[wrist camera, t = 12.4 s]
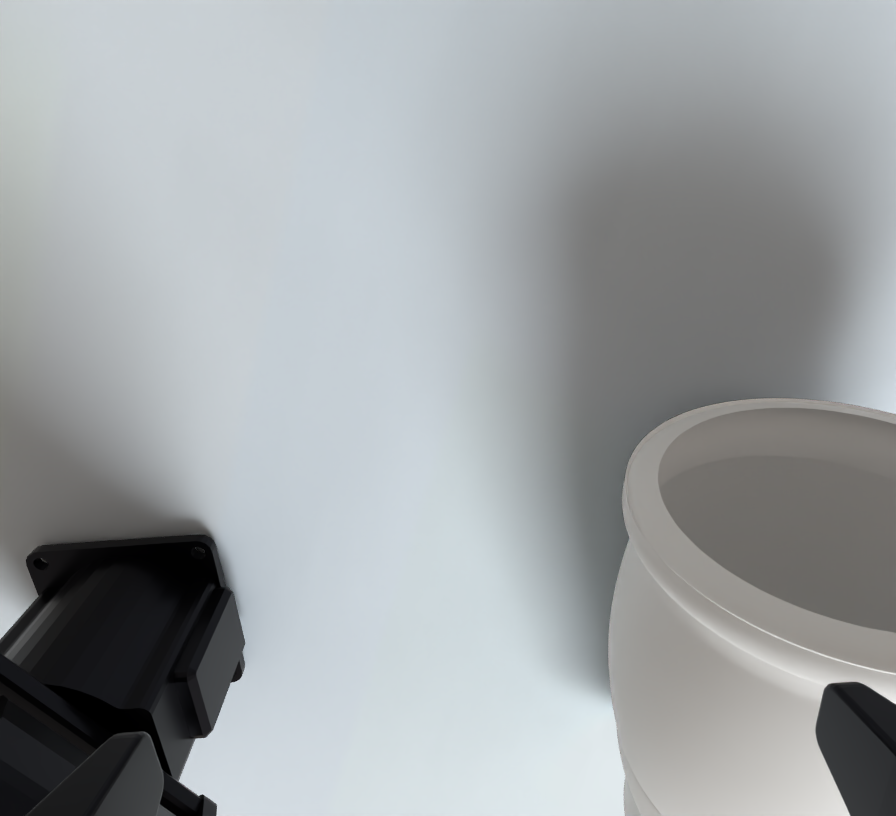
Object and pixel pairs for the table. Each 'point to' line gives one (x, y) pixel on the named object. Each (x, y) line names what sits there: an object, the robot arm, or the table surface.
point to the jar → (750, 602)
